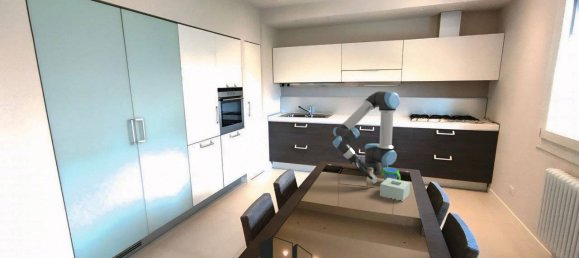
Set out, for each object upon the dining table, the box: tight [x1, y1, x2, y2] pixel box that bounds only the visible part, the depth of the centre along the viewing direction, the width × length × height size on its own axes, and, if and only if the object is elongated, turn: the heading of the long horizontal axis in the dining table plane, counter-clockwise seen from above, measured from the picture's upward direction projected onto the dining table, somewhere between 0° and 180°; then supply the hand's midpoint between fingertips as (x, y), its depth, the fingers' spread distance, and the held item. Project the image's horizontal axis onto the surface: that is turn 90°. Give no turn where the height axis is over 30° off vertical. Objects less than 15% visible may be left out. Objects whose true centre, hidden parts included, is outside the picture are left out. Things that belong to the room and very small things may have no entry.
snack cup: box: [380, 166, 402, 181], centre depth 184 cm, size 16×10×10 cm
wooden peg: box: [366, 167, 374, 187], centre depth 175 cm, size 4×4×12 cm
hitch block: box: [379, 178, 411, 202], centre depth 164 cm, size 14×14×8 cm
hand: (375, 180), depth 174 cm, fingers closed on wooden peg, 4 cm apart
